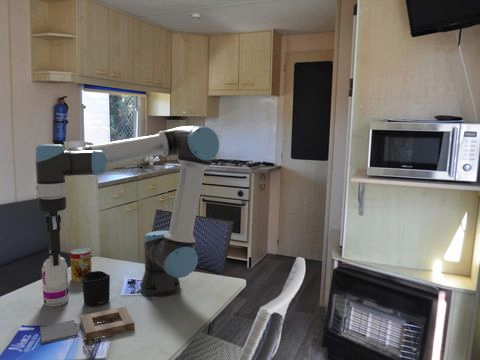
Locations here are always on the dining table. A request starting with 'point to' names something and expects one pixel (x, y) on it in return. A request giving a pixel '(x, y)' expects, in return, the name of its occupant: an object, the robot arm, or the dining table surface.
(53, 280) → the eye dropper bottle
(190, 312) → the dining table surface
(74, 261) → the canned food
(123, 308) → the bottle holder
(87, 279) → the pen holder
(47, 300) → the supplement can
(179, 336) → the dining table surface
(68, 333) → the rubber mat
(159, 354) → the dining table surface
